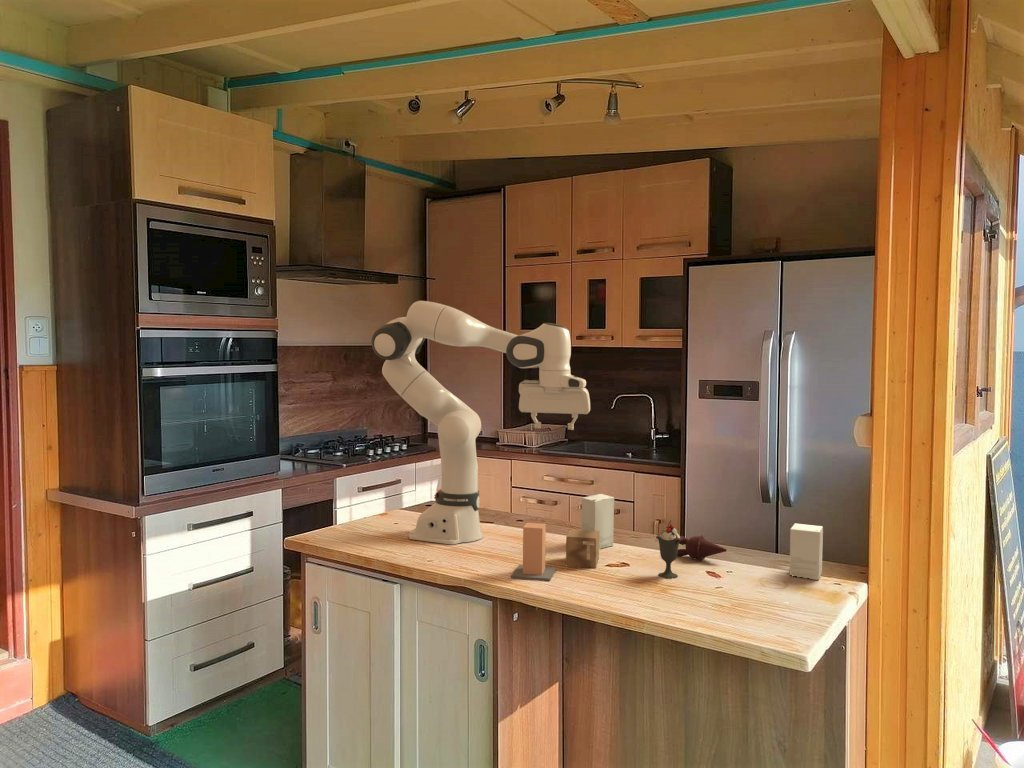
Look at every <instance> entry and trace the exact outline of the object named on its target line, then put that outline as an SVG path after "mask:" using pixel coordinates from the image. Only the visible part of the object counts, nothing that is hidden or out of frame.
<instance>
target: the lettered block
mask: <svg viewBox="0 0 1024 768" xmlns="http://www.w3.org/2000/svg"><path fill="white" fill-rule="evenodd" d="M598 560H600V549H599V531H587V530H581V529H570V530H569V532H567V534H566V539H565V566H566V565H567V566H566V567H573V566H580V567H579V568H587V567H591V568H590V569H596V568H597V566H598V564H599V561H598Z"/></svg>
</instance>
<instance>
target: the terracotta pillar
mask: <svg viewBox="0 0 1024 768" xmlns="http://www.w3.org/2000/svg"><path fill="white" fill-rule="evenodd" d="M546 528H547V524H546V523H539V522H538V523H537V522H536V523H535V522H526V523H525V524H524V526H523V527H522V529H523V531H522V565H523V574H536V575H542V574H543V572H544V570H545V567H546V536H547V535H546V533H547V532H546V530H547V529H546Z"/></svg>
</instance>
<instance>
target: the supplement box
mask: <svg viewBox="0 0 1024 768" xmlns="http://www.w3.org/2000/svg"><path fill="white" fill-rule="evenodd" d="M789 533H790V534H789V537H790V538H789V576H790V575H793V576H797V577H796V578H800V577H803V578H802V579H807V578H809V580H814V581H815V580H816V581H819V579H820V578H821V575H822V574H823V546H824V545H823V544H824V543H823V542H824V541H823V538H824V537H823V536H824V527H823V526H822V525H813V524H805V523H804V524H803V523H793V525H792V526H791V528H790V529H789ZM793 576H792V577H793Z"/></svg>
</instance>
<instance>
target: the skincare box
mask: <svg viewBox="0 0 1024 768" xmlns="http://www.w3.org/2000/svg"><path fill="white" fill-rule="evenodd" d="M614 512H615V497H614V496H611V495H606V494H604V493H598V494H593V495H589V496H588V495H587V496H584V497H581V523H580V525H581V526H580V530H587V531H599V550H601V549H604V548H608V547H612V546H614V518H615V516H614V515H615V513H614Z"/></svg>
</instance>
